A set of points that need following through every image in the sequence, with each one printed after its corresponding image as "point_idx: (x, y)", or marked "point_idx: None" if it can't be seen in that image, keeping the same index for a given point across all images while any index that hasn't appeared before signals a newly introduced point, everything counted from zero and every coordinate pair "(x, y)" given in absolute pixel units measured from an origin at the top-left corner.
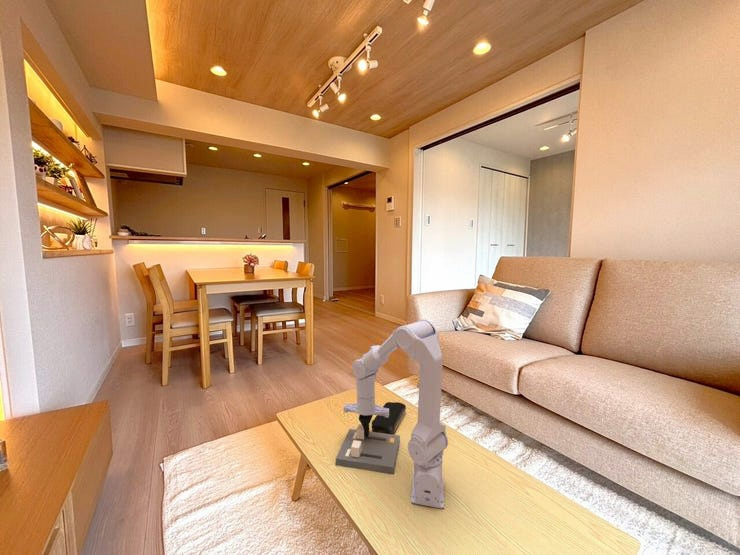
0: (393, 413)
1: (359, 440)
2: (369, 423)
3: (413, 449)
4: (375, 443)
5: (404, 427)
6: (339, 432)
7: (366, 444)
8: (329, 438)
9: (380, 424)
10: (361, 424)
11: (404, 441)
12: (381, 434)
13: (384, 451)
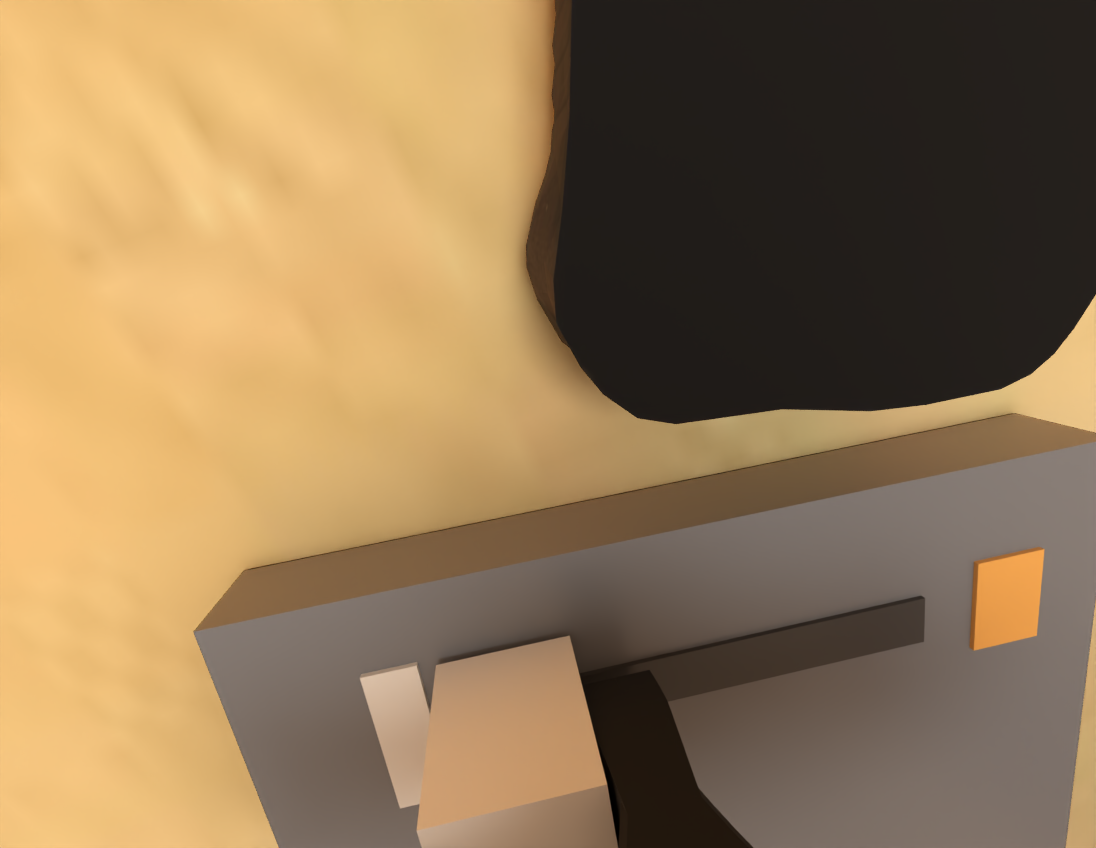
0: None
1: None
2: (723, 819)
3: None
4: (782, 746)
5: None
6: (45, 592)
7: None
8: (3, 764)
9: (793, 357)
10: (489, 816)
11: (1075, 390)
12: (822, 532)
13: (930, 815)
